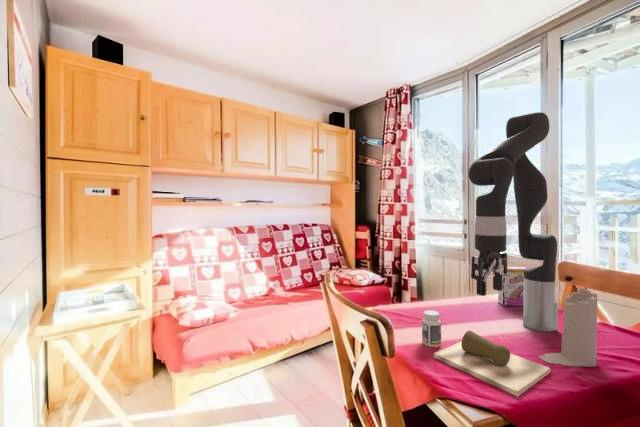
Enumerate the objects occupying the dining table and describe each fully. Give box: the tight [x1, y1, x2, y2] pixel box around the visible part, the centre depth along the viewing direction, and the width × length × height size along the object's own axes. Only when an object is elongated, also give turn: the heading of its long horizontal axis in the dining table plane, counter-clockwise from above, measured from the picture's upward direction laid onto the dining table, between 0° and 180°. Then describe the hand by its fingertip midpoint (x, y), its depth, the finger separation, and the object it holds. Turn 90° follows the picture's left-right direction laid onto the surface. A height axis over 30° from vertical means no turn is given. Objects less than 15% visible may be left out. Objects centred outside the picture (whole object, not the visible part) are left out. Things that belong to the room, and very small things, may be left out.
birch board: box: [433, 340, 551, 398], centre depth 84 cm, size 22×18×1 cm
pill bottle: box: [421, 310, 442, 348], centre depth 97 cm, size 6×6×10 cm
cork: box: [461, 330, 511, 366], centre depth 84 cm, size 6×6×11 cm
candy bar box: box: [497, 266, 529, 307], centre depth 134 cm, size 11×5×16 cm, turn 84°
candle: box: [538, 287, 598, 368], centre depth 86 cm, size 7×14×20 cm, turn 88°
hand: (489, 292), depth 83 cm, fingers open, 8 cm apart
